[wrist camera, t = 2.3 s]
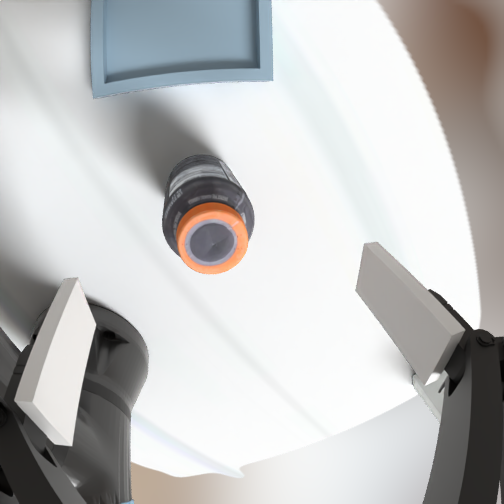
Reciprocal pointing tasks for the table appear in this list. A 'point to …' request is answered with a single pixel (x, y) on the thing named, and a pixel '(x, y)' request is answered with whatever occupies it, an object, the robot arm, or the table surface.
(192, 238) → the pill bottle
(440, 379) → the skincare box
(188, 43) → the tray
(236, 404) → the table surface
